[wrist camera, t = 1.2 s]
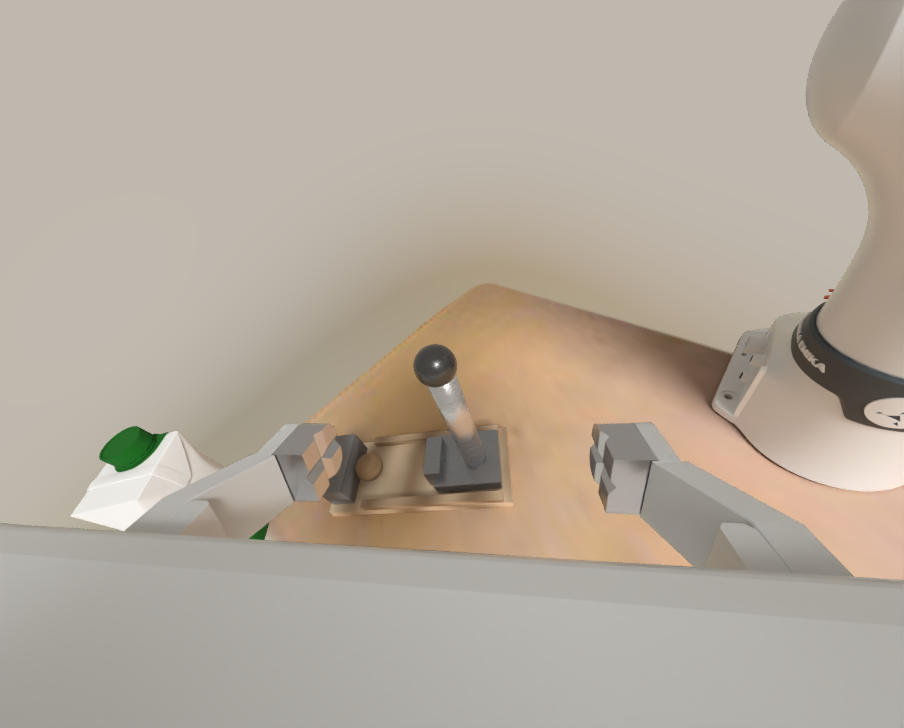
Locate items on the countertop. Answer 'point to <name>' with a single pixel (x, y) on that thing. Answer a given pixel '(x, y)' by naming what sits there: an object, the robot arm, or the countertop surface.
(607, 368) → the countertop surface
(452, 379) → the ball-top joystick lever
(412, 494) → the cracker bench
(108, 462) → the milk carton
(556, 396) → the countertop surface
